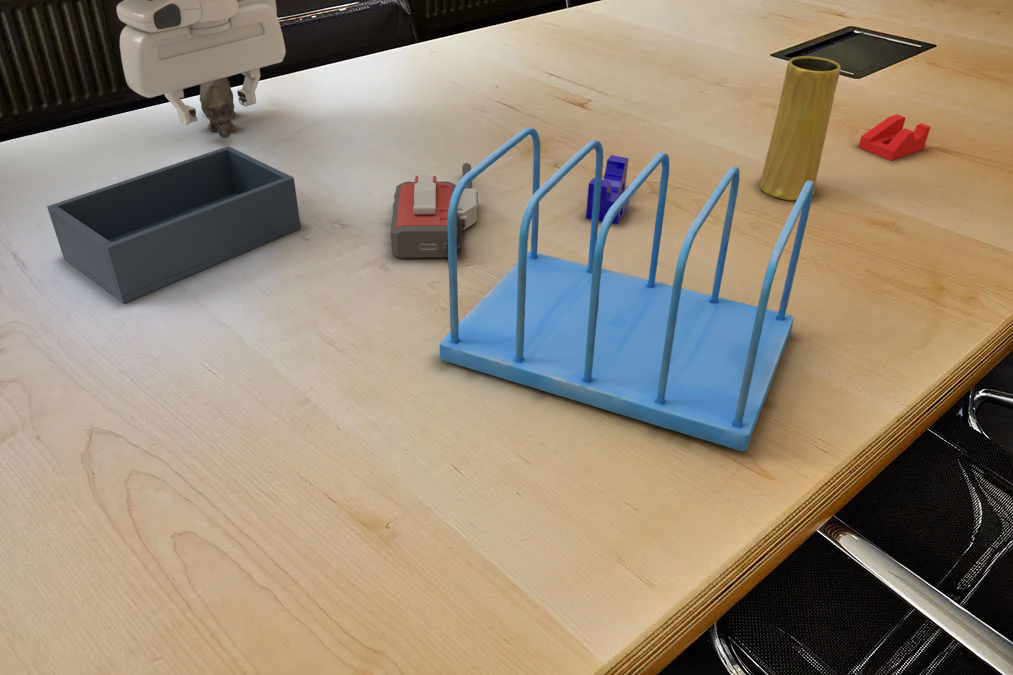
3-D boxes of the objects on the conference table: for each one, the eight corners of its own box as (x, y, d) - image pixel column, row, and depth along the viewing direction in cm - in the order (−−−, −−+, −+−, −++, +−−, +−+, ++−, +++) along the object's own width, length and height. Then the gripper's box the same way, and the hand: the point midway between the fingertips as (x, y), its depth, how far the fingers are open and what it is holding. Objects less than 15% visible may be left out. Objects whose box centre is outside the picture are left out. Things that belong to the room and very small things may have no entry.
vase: (756, 176, 100) (781, 53, 92) (810, 179, 99) (839, 56, 91) (762, 199, 95) (788, 71, 87) (818, 203, 94) (850, 74, 86)
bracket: (890, 136, 110) (897, 114, 109) (923, 149, 107) (930, 126, 105) (858, 147, 107) (864, 124, 106) (891, 160, 104) (897, 137, 102)
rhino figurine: (207, 152, 103) (198, 103, 100) (203, 112, 114) (194, 67, 110) (242, 148, 104) (234, 100, 101) (235, 109, 115) (227, 64, 111)
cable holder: (617, 224, 90) (621, 189, 87) (585, 218, 91) (588, 183, 88) (638, 193, 96) (641, 160, 93) (607, 188, 97) (611, 155, 94)
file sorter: (790, 333, 74) (832, 168, 65) (744, 459, 61) (788, 274, 52) (527, 265, 82) (532, 111, 74) (438, 362, 70) (431, 190, 61)
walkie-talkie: (480, 264, 82) (476, 176, 99) (480, 223, 80) (476, 140, 96) (389, 265, 82) (399, 177, 98) (386, 224, 79) (397, 140, 96)
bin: (64, 259, 82) (46, 206, 79) (237, 194, 94) (228, 145, 91) (123, 303, 76) (107, 247, 73) (301, 228, 88) (294, 177, 85)
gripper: (257, -22, 108) (273, 86, 116) (101, 9, 95) (131, 128, 103) (287, -13, 104) (301, 98, 112) (130, 20, 92) (159, 142, 100)
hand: (219, 113), depth 108 cm, fingers open, 7 cm apart
